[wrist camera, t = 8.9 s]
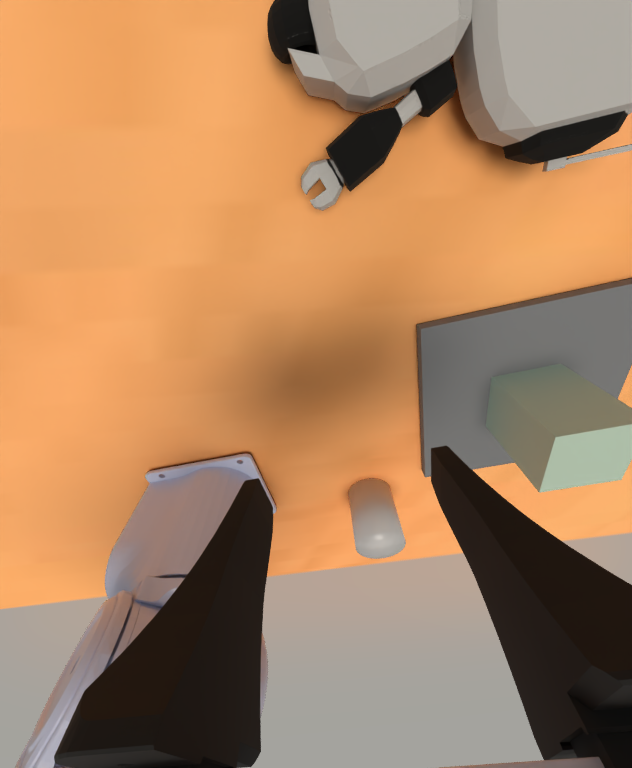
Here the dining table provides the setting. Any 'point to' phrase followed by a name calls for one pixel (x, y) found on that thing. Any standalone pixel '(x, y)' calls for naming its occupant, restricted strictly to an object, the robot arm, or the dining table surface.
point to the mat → (515, 361)
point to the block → (560, 427)
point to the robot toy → (460, 74)
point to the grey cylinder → (375, 519)
